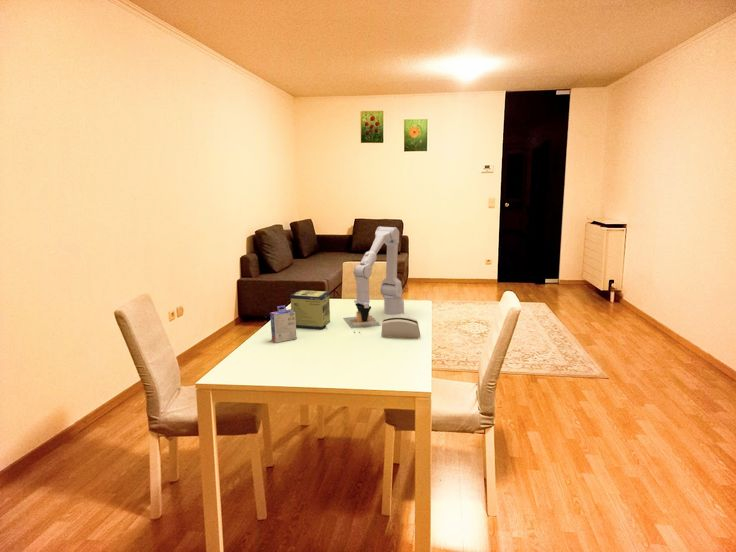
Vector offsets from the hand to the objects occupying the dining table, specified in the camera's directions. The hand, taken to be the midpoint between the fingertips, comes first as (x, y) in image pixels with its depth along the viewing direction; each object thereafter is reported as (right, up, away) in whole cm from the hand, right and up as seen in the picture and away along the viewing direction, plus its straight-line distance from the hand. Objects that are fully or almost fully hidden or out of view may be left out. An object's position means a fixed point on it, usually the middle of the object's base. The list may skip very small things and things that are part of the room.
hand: (363, 319), depth 236 cm
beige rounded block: (+16, -6, -15) cm, 23 cm away
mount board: (-1, -2, +4) cm, 5 cm away
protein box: (-24, -3, +3) cm, 25 cm away
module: (0, -1, 0) cm, 1 cm away
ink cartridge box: (-34, -7, -17) cm, 38 cm away
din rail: (0, -3, +1) cm, 3 cm away
